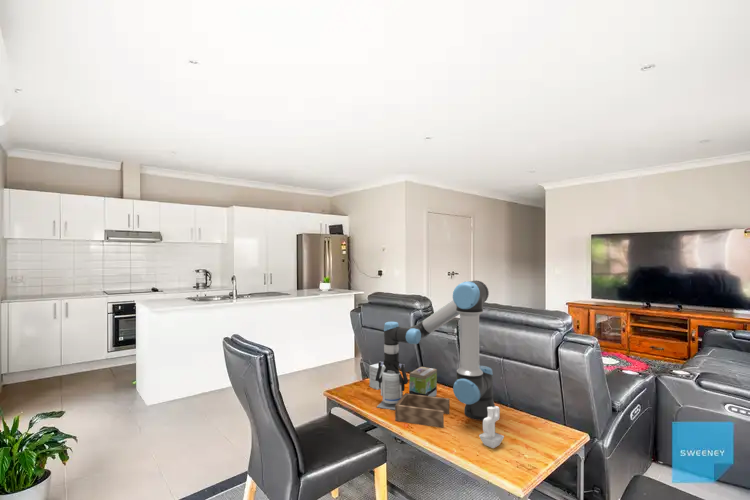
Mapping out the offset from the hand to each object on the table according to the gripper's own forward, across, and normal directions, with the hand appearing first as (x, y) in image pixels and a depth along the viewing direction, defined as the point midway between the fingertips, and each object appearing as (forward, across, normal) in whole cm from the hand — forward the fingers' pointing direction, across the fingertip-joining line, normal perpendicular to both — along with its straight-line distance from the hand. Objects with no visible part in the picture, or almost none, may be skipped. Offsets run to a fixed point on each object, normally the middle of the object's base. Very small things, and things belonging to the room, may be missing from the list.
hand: (391, 395), depth 197 cm
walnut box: (+5, -19, +9) cm, 21 cm away
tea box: (+5, -13, -15) cm, 20 cm away
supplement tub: (+3, 0, 0) cm, 3 cm away
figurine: (+5, -51, +26) cm, 57 cm away
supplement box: (+5, +16, -23) cm, 28 cm away
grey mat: (+5, 0, 0) cm, 5 cm away
